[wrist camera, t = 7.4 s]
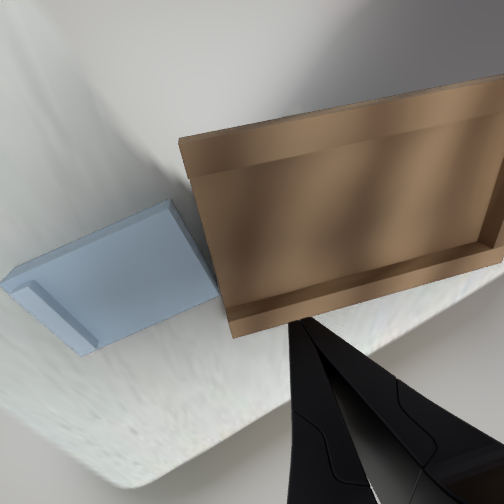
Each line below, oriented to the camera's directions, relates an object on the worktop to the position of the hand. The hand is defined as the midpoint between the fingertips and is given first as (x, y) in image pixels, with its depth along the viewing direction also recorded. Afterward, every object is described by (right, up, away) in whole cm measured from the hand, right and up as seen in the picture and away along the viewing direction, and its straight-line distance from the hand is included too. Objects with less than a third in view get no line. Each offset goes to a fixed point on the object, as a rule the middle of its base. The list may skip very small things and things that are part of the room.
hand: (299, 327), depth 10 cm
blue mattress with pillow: (-9, +2, +7) cm, 11 cm away
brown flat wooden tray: (+5, +6, +7) cm, 11 cm away
